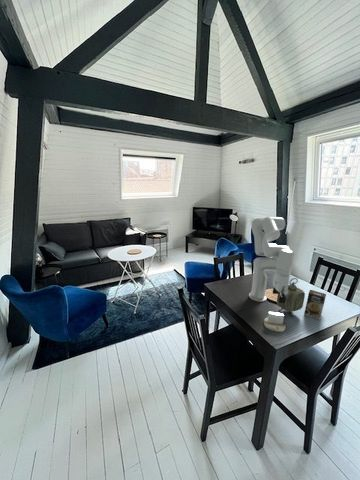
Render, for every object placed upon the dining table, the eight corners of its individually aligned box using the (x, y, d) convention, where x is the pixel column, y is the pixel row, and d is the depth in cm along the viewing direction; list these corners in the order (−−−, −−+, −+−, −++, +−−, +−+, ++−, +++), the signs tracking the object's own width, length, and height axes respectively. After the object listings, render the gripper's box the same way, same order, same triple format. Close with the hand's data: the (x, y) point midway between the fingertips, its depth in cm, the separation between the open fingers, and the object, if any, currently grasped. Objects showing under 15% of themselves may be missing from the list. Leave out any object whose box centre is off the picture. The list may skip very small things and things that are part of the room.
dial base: (261, 318, 131) (261, 316, 131) (280, 319, 130) (281, 317, 130) (267, 331, 120) (267, 328, 119) (288, 332, 119) (289, 330, 118)
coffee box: (303, 314, 136) (308, 292, 132) (305, 310, 141) (309, 289, 137) (320, 320, 130) (325, 297, 126) (321, 315, 135) (326, 293, 131)
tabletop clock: (290, 307, 144) (296, 274, 138) (302, 314, 136) (309, 279, 130) (274, 311, 139) (280, 277, 132) (286, 319, 131) (292, 283, 124)
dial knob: (268, 322, 124) (269, 313, 123) (267, 320, 126) (268, 311, 125) (285, 325, 122) (286, 316, 121) (284, 322, 125) (285, 313, 123)
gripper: (270, 264, 124) (266, 290, 129) (282, 277, 108) (277, 306, 113) (283, 265, 124) (279, 290, 129) (297, 278, 107) (291, 307, 112)
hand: (278, 298), depth 121 cm, fingers open, 9 cm apart
